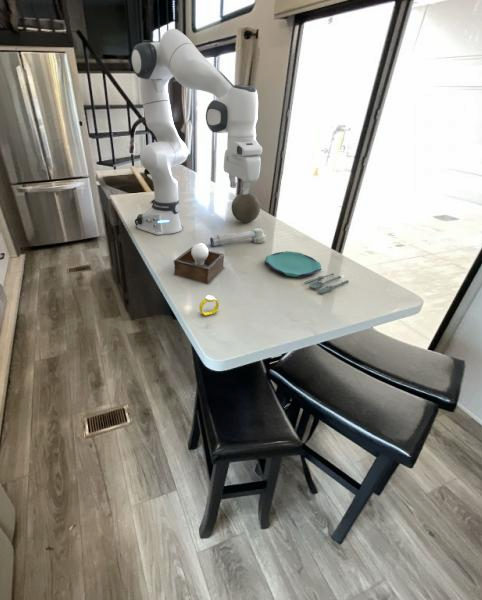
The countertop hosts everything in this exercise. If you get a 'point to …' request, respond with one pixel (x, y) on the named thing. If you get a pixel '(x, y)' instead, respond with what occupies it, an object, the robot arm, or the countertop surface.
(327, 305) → the countertop surface
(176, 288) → the countertop surface
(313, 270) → the cutlery set
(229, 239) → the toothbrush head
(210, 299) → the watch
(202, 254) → the lightbulb
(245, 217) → the cantaloupe
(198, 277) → the brown wooden box
